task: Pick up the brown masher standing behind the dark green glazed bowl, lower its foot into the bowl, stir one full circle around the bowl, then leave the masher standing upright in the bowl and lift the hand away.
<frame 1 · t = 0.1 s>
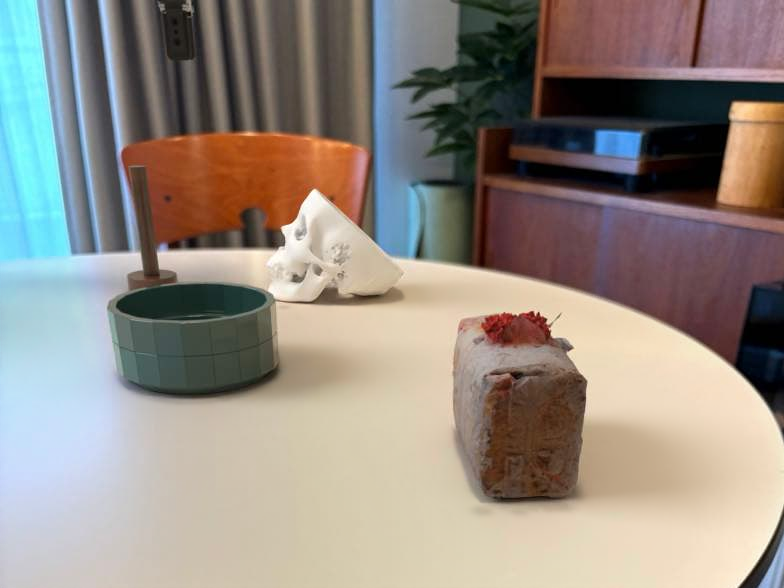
hand: (182, 60, 82), 23 cm above the table, tool pointing down, fingers open, 8 cm apart
brown masher: (153, 287, 97), on the table
skull bowl: (336, 296, 95), on the table
food item: (511, 458, 57), on the table
mixing bowl: (200, 370, 71), on the table
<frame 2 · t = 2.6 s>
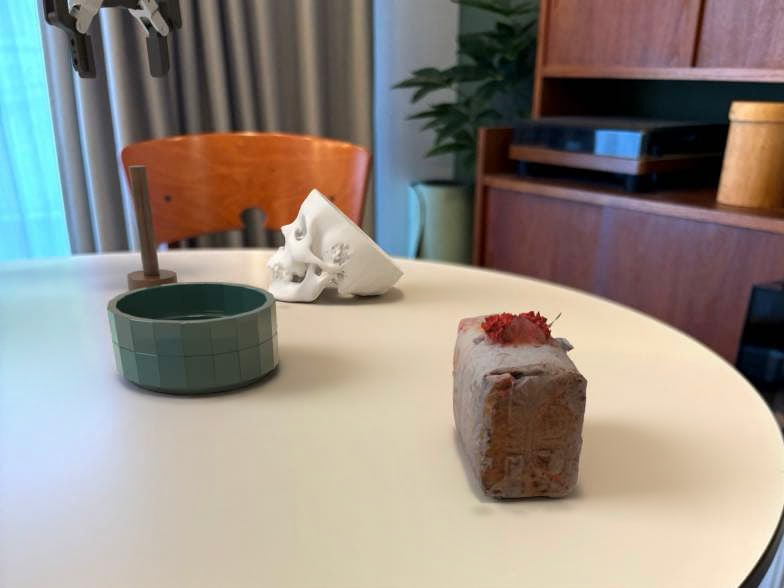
hand: (124, 77, 86), 21 cm above the table, tool pointing down, fingers open, 8 cm apart
nothing on the table moved.
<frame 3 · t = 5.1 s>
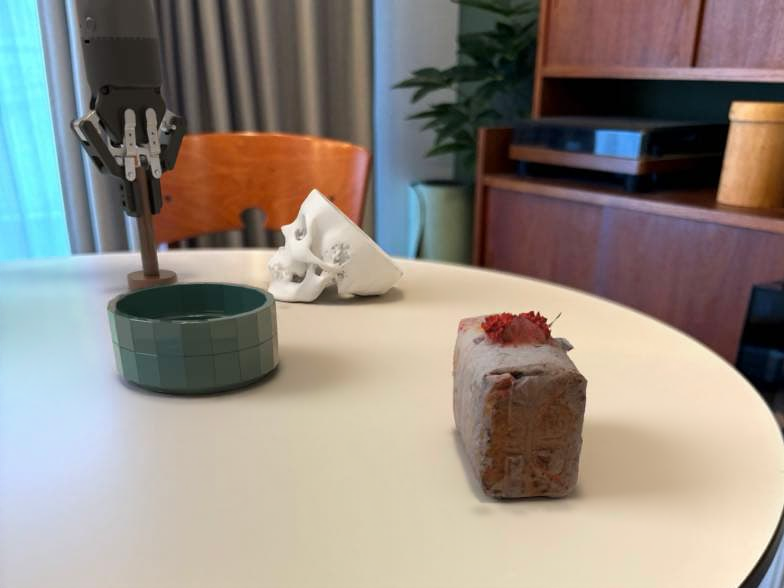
hand: (143, 214, 92), 8 cm above the table, tool pointing down, fingers closed on brown masher
brown masher: (153, 287, 97), on the table, touching gripper
everything else where it was.
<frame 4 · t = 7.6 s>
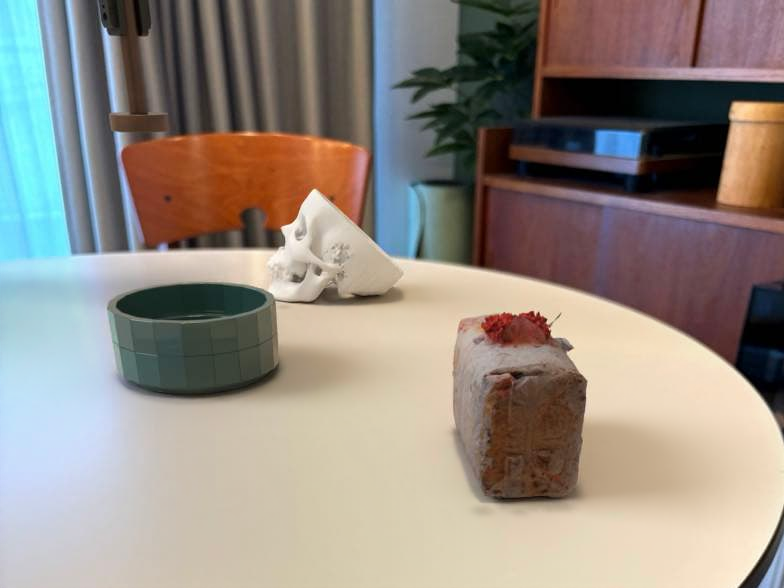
hand: (128, 35, 78), 25 cm above the table, tool pointing down, fingers closed on brown masher
brown masher: (141, 130, 82), point 17 cm above the table, touching gripper
everything else where it was.
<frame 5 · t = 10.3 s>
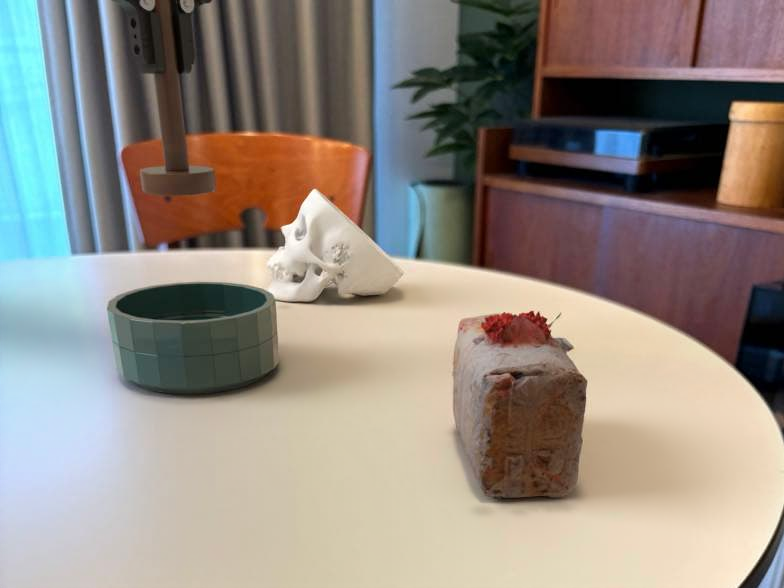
hand: (165, 72, 60), 22 cm above the table, tool pointing down, fingers closed on brown masher
brown masher: (179, 190, 65), point 14 cm above the table, touching gripper
everything else where it was.
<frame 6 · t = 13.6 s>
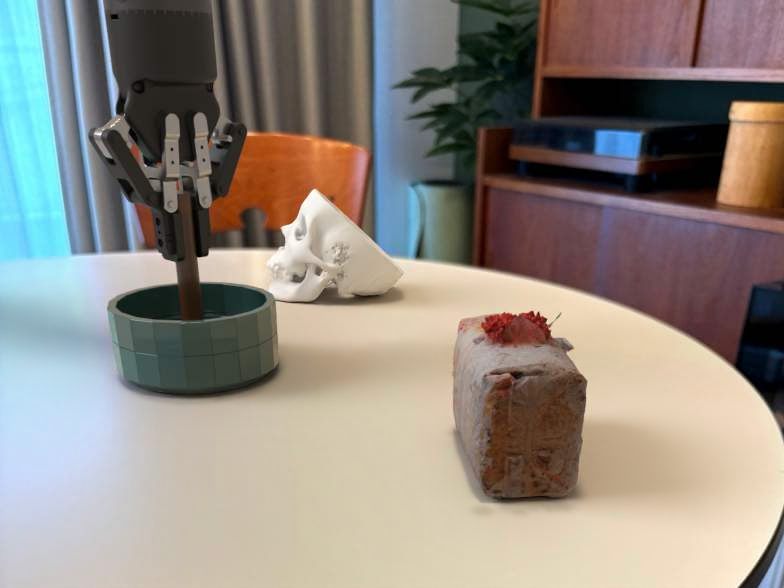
hand: (185, 257, 68), 9 cm above the table, tool pointing down, fingers closed on brown masher
brown masher: (196, 352, 72), point 1 cm above the table, touching gripper
everything else where it was.
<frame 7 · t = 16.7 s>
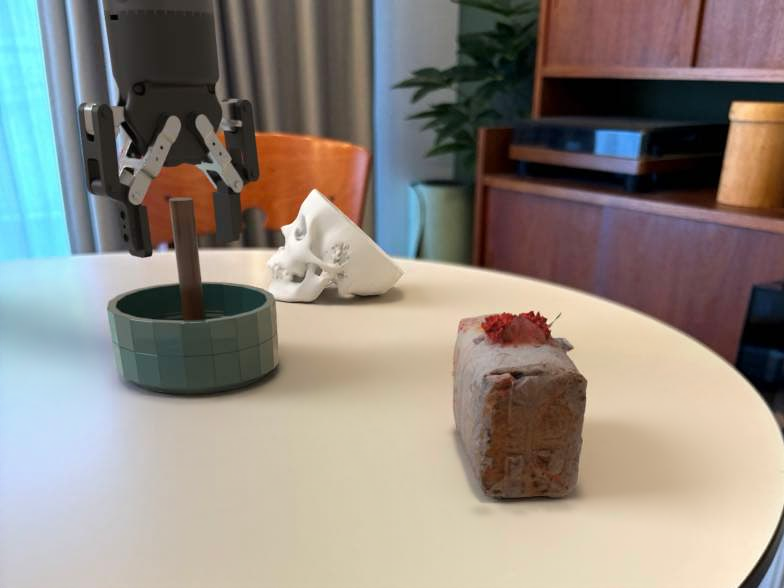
hand: (186, 248, 66), 10 cm above the table, tool pointing down, fingers open, 8 cm apart
brown masher: (199, 361, 71), point 1 cm above the table, touching mixing bowl
everything else where it was.
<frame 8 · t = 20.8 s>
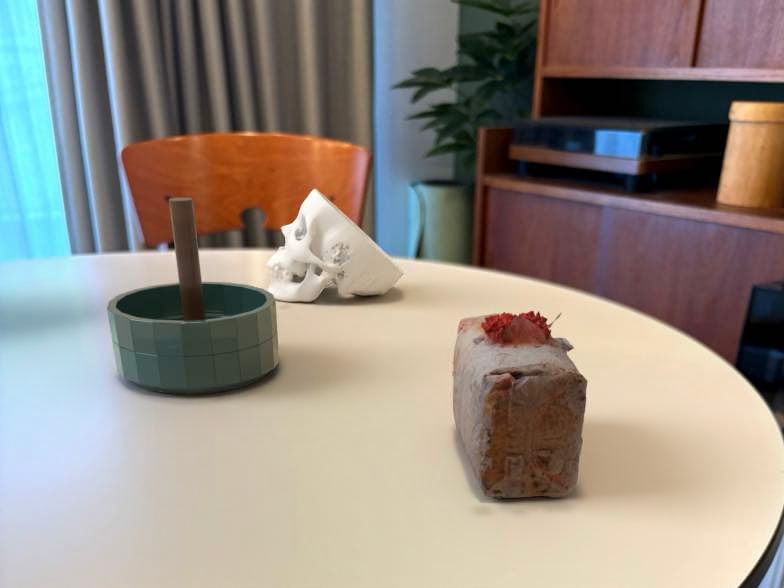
nothing on the table moved.
at the end: brown masher inside the target area in the mixing bowl (0.0 cm from its centre), point 0.8 cm above the mixing bowl's base; brown masher tilted 0°; the gripper is holding nothing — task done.
